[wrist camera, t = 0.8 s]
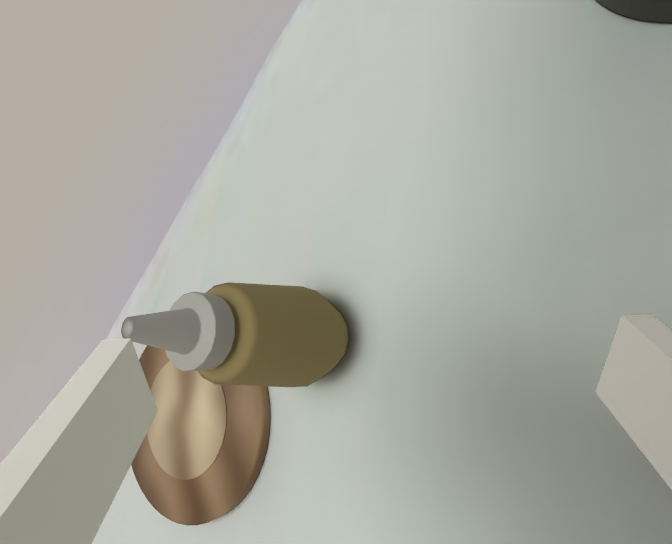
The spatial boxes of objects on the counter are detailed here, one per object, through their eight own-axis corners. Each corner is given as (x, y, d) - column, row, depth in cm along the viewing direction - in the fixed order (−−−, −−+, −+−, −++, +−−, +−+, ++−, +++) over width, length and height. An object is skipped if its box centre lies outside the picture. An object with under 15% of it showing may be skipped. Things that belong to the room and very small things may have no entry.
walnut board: (250, 291, 41) (238, 289, 39) (289, 507, 34) (276, 514, 33) (132, 347, 49) (118, 347, 48) (145, 528, 43) (130, 534, 41)
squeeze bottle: (326, 273, 36) (145, 219, 21) (379, 343, 32) (204, 338, 17) (271, 331, 38) (71, 320, 23) (314, 403, 35) (109, 445, 19)
